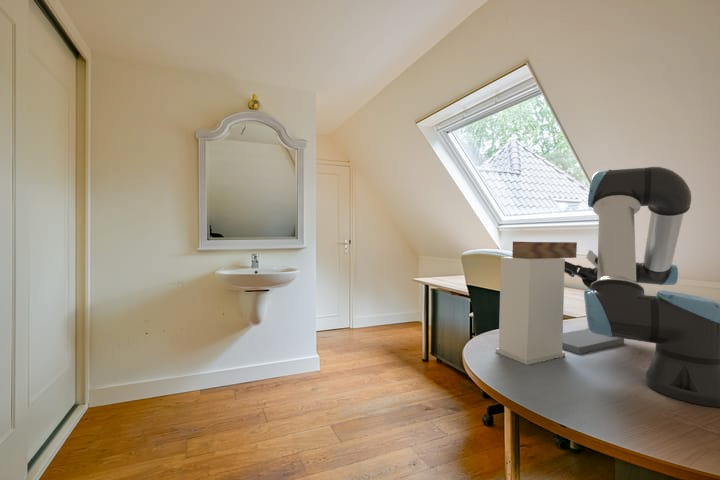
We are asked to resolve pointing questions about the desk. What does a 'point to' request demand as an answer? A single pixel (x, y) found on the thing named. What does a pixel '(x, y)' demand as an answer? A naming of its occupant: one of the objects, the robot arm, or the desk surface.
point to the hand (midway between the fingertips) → (567, 252)
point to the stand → (531, 309)
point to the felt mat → (587, 341)
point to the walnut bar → (544, 250)
